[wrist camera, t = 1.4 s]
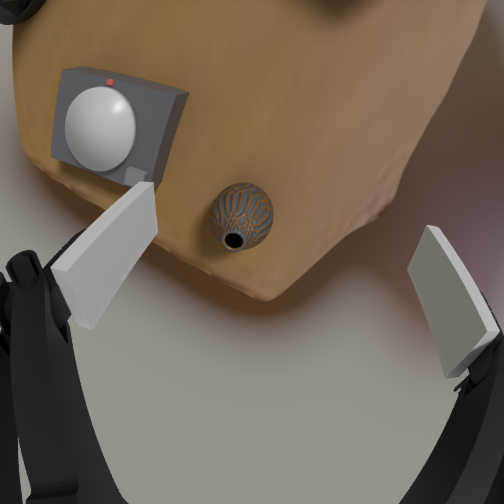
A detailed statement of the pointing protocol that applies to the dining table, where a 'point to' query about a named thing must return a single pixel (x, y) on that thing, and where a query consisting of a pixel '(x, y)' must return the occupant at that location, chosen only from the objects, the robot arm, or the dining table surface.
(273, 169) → the dining table surface
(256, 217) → the vase
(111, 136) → the grey dome button box
